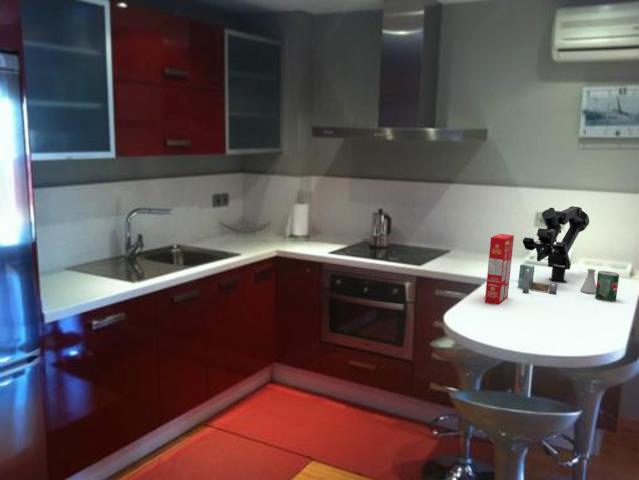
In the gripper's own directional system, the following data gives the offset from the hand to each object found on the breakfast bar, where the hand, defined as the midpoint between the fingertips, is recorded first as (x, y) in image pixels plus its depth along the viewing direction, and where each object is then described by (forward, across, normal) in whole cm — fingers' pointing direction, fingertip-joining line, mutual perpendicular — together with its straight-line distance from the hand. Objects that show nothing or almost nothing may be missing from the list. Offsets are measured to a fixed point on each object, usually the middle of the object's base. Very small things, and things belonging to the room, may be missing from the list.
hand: (537, 260), depth 258 cm
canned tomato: (+6, +28, +11) cm, 31 cm away
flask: (0, +19, +17) cm, 25 cm away
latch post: (+19, +2, -2) cm, 19 cm away
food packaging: (+35, +1, -18) cm, 39 cm away
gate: (+13, +2, +4) cm, 13 cm away
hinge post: (+12, +10, +4) cm, 16 cm away
